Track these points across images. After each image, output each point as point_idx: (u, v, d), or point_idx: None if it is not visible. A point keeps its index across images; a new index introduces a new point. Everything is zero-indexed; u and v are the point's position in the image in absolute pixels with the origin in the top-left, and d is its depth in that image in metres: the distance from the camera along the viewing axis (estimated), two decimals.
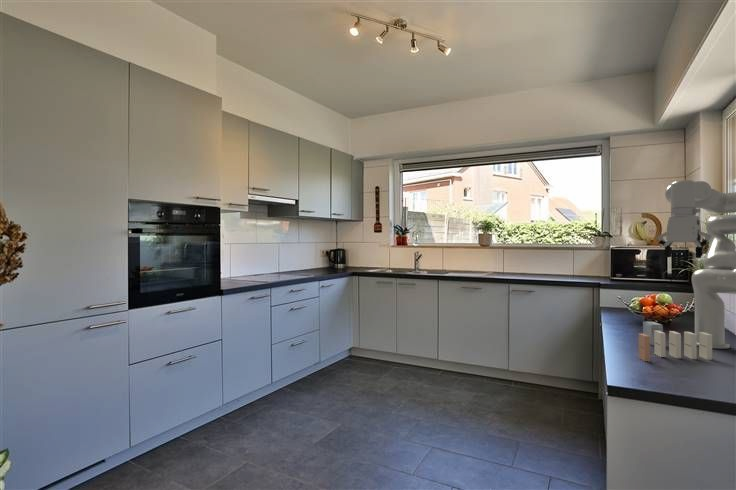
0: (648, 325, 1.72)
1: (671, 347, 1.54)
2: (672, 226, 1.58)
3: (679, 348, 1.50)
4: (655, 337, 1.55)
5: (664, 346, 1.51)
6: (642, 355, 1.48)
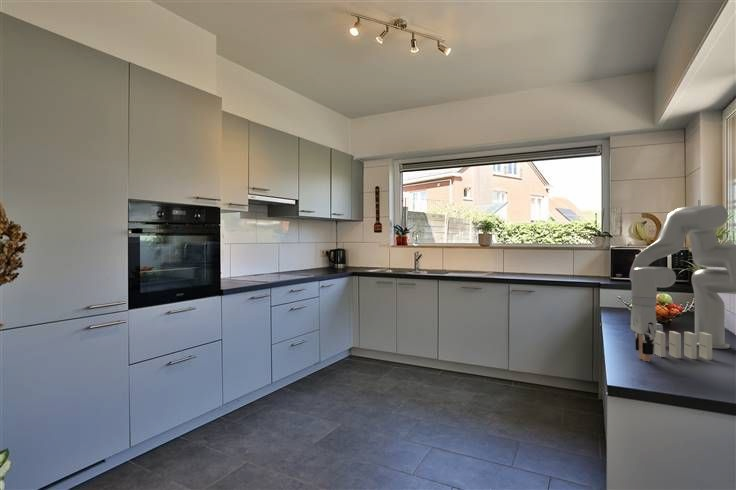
0: None
1: (671, 347, 1.54)
2: None
3: (679, 348, 1.50)
4: (655, 337, 1.55)
5: (664, 346, 1.51)
6: (642, 355, 1.48)
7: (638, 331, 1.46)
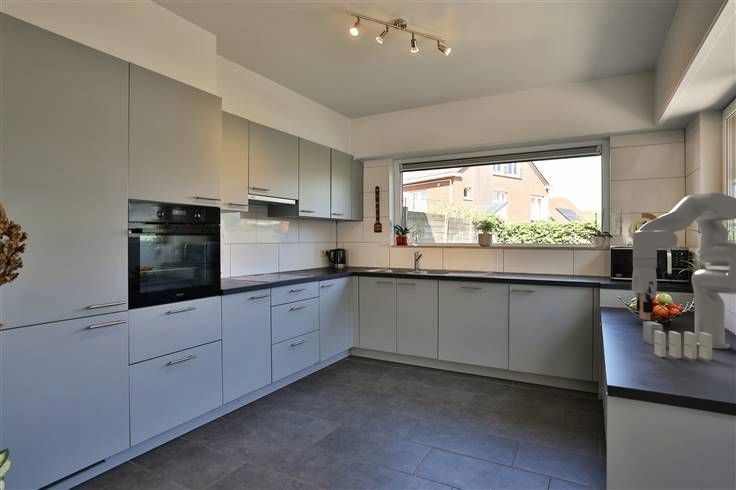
0: (648, 325, 1.72)
1: (671, 347, 1.54)
2: None
3: (679, 348, 1.50)
4: (655, 337, 1.55)
5: (664, 346, 1.51)
6: (643, 314, 1.54)
7: (639, 291, 1.53)
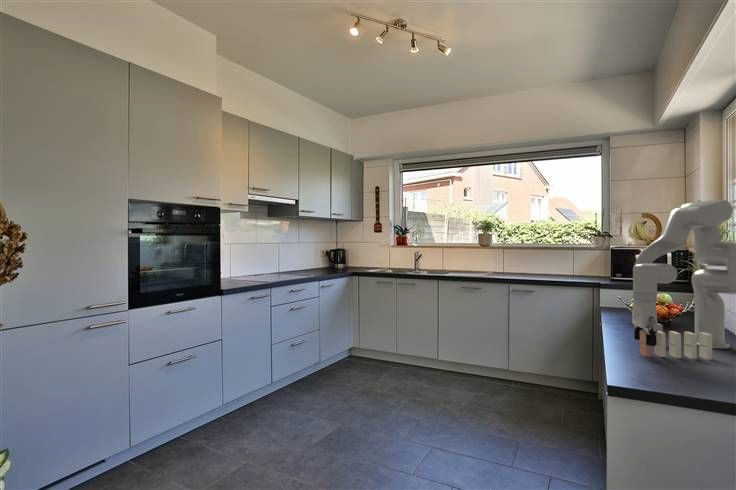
0: None
1: (671, 347, 1.54)
2: None
3: (679, 348, 1.50)
4: None
5: (664, 346, 1.51)
6: (643, 351, 1.54)
7: (639, 325, 1.53)
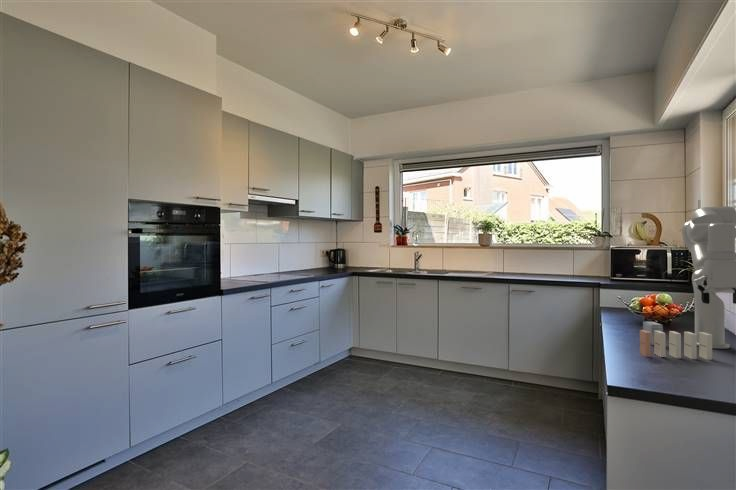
0: (648, 325, 1.72)
1: (671, 347, 1.54)
2: (716, 271, 1.48)
3: (679, 348, 1.50)
4: (655, 337, 1.55)
5: (664, 346, 1.51)
6: (643, 351, 1.54)
7: None
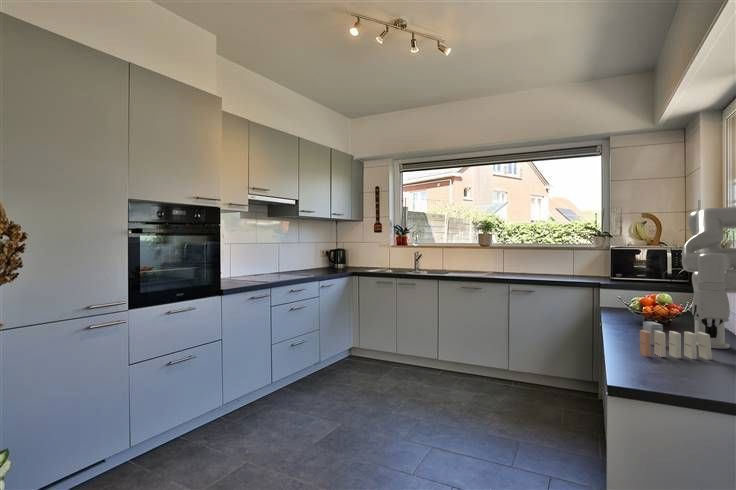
0: (648, 325, 1.72)
1: (671, 347, 1.54)
2: (707, 301, 1.48)
3: (679, 348, 1.50)
4: (655, 337, 1.55)
5: (664, 346, 1.51)
6: (643, 351, 1.54)
7: None
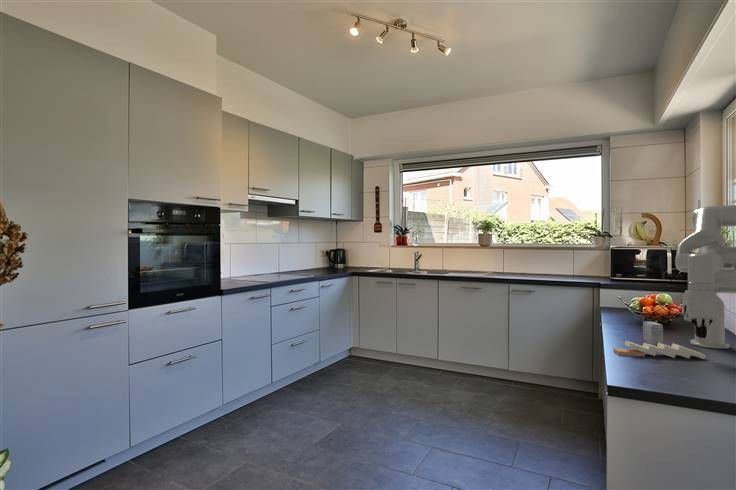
0: (648, 325, 1.72)
1: None
2: (696, 301, 1.49)
3: (665, 351, 1.51)
4: None
5: (644, 348, 1.52)
6: None
7: None
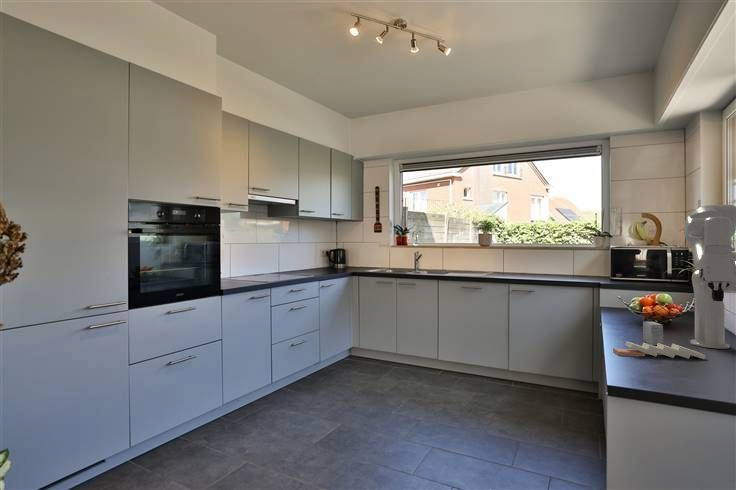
0: (648, 325, 1.72)
1: None
2: (713, 265, 1.48)
3: (664, 351, 1.51)
4: None
5: (645, 349, 1.52)
6: None
7: None
